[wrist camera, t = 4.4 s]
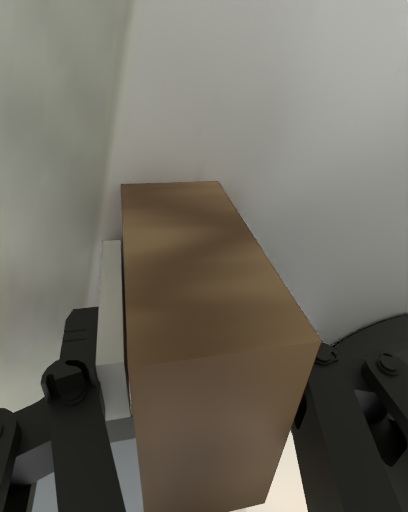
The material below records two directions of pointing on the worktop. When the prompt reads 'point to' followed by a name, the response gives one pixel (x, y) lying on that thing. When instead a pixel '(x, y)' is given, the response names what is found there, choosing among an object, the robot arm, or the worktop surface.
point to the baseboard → (126, 467)
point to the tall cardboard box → (207, 349)
